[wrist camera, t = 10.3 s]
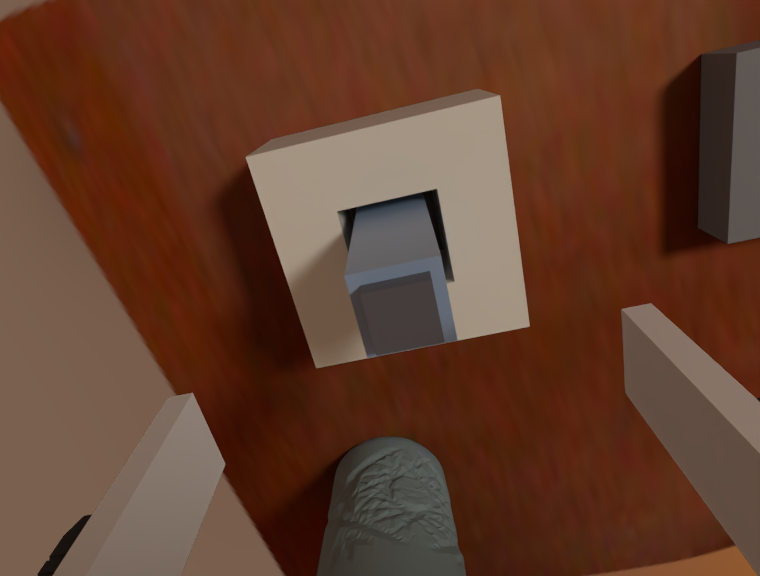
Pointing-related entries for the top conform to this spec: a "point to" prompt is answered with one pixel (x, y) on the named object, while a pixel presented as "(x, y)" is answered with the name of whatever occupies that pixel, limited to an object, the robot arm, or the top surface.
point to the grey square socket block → (730, 143)
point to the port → (388, 181)
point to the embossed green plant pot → (390, 514)
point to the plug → (398, 278)
